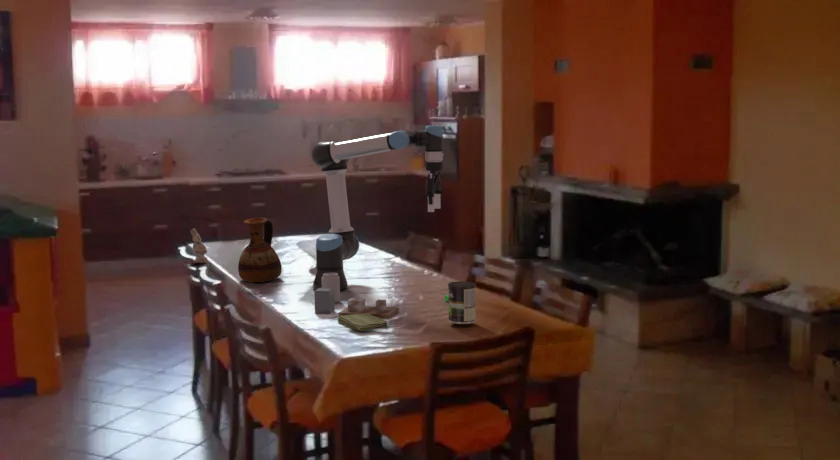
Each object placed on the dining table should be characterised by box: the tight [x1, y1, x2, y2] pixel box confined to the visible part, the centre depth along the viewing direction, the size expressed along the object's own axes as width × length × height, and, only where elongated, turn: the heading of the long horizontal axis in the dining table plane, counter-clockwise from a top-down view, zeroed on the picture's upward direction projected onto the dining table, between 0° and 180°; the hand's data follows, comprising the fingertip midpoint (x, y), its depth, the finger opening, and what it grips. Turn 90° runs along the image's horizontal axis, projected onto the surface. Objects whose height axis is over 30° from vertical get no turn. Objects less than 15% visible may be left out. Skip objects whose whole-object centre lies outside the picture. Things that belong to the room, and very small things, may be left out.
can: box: [321, 273, 341, 304], centre depth 386 cm, size 8×8×12 cm
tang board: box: [338, 297, 400, 320], centre depth 362 cm, size 20×14×6 cm
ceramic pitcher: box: [237, 216, 283, 283], centre depth 436 cm, size 20×20×30 cm
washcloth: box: [337, 313, 388, 332], centre depth 345 cm, size 13×18×3 cm
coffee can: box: [447, 280, 477, 325], centre depth 347 cm, size 10×10×14 cm
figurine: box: [190, 228, 208, 264], centre depth 481 cm, size 9×8×20 cm
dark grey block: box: [313, 288, 336, 315], centre depth 366 cm, size 6×6×9 cm
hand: (434, 210), depth 408 cm, fingers open, 13 cm apart
